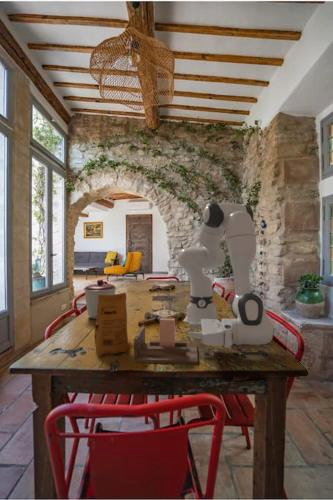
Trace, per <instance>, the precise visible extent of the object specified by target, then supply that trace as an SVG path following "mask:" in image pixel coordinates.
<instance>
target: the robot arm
mask: <svg viewBox="0 0 333 500" xmlns="http://www.w3.org/2000/svg"><path fill="white" fill-rule="evenodd" d="M201 218H202V223H201V225H200V228H199V232H198V235H197V239H198V240H197V241H198V242H199V244H200V245H201V247H186V248H182V249H181V250H180V251H179V252H178V253H177V259H176V260H177V263H178V265H179V267H180V268H182V269H183V270H184V271H185V272H186V274H187V275H188V279H189V280H190V295H189V302H190V303H189V304H188V305H187V306H186V316H185V318H184V319H183V323H186V324H188V329H189V331H188V337H189V338H193V339H197V340H201V341H202V342H201V343H202V344H203V345H205V346H211V347H224V348H225V349H230V348H232V346H234V345H233V344H239V343H245V344H244V345H266V344H269V343H270V342H271V341H272V340H273V338H274V335H275V334H274V333H275V327H274V326H275V325H274V322H273V321H272V320H271V319H270V318H269V316H268V314H267V312H266V310H265V306H264V303H263V301H262V298H261V297H259V296H258V295H257V294H255V293H251V281H250V271H251V270H250V269H251V266H252V263H253V262H254V259H255V257H256V255H257V237H256V230H255V225H254V222H253V221H254V211H253V209H252V206H249V205H248V204H244V203H242V204H240V203H237V202H236V203H235V202H234V203H233V202H214V201H213V202H209V203H207V204H206V205H205V206H204V207H203V210H202V216H201ZM224 232H225V235H226V236H225V237H226V245H227V246H226V247H227V252H228V256H229V259H230V264H231V267H232V273H233V274H232V275H233V277H232V278H233V286H234V287H233V288H234V289H233V290H234V291H233V292H234V295H233V297H232V301H231V303H230V304H231V305H230V311H231V313H232V315H233V316H234V318H221V321H220V320H219V319H218V318H217V307H216V306H215V304H214V295H213V281H212V279H211V278H210V277H209V276H207V275H205V274H204V273H203V271H204V270H206V269H207V270H209V269H217V268H221V267H222V266H223V265H224V264H225V261H226V254H225V252H224V251H223V249H221V247H220V246H221V245H220V244H221V242H222V237H223V234H224ZM194 329H195V330H196V329H198V330H200V331H198V332H197V331H194ZM191 330H192V331H191Z"/></svg>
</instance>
